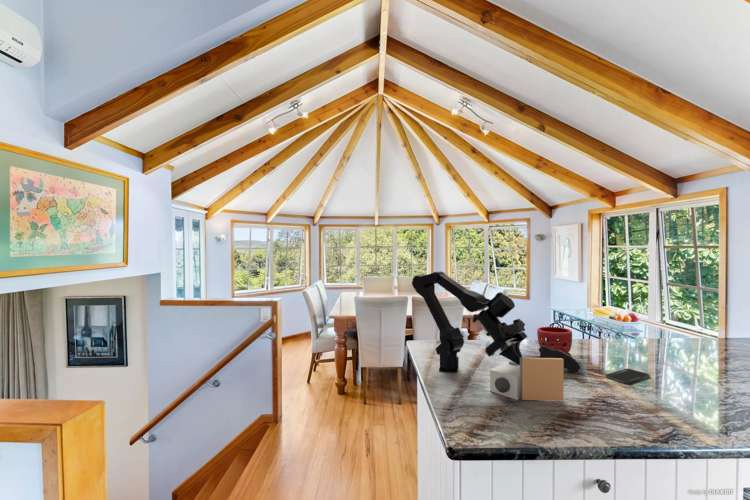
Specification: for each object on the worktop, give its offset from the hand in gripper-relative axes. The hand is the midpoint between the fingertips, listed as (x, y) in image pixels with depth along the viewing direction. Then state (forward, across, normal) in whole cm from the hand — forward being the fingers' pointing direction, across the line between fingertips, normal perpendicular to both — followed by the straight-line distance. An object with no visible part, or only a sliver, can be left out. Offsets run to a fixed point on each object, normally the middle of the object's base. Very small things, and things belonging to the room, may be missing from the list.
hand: (524, 366), depth 115 cm
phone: (+20, +40, -8) cm, 45 cm away
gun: (+7, +29, +6) cm, 30 cm away
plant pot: (+1, +44, +11) cm, 45 cm away
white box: (+4, 0, +8) cm, 9 cm away
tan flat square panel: (+10, -2, +1) cm, 10 cm away
